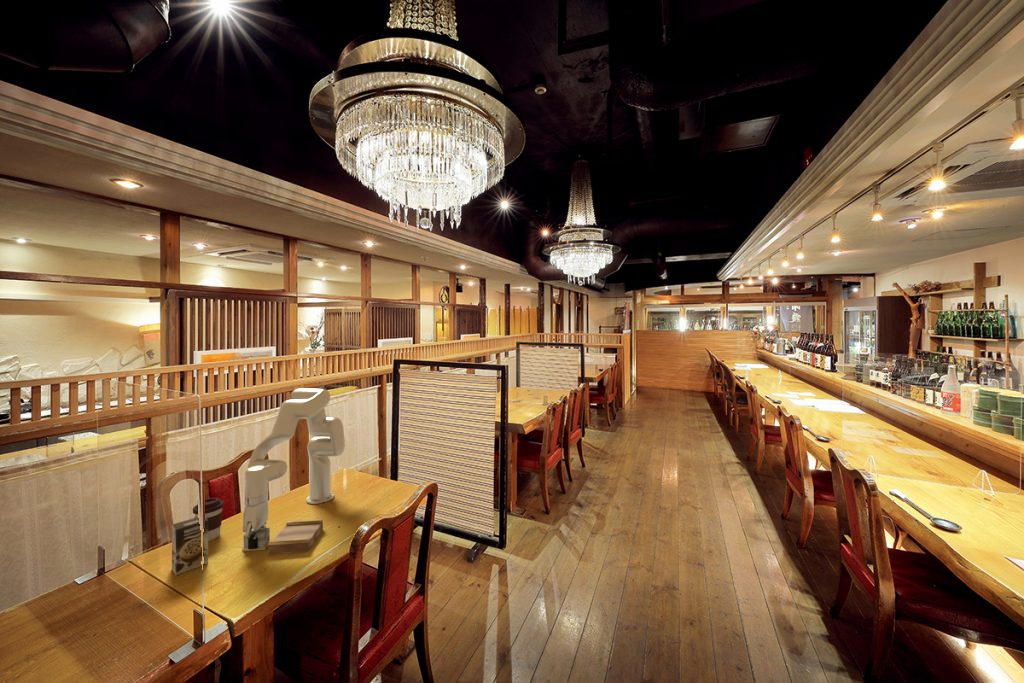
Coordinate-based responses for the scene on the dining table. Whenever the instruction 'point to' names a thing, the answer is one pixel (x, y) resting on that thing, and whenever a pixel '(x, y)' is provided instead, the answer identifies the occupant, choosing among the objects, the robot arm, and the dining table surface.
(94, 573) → the dining table surface
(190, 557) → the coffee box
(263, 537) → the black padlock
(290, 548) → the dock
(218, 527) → the coffee cup
